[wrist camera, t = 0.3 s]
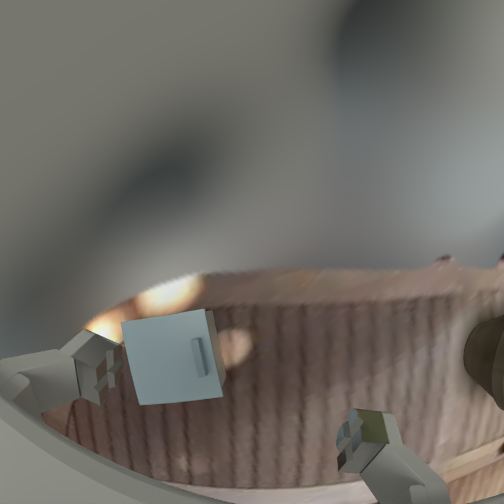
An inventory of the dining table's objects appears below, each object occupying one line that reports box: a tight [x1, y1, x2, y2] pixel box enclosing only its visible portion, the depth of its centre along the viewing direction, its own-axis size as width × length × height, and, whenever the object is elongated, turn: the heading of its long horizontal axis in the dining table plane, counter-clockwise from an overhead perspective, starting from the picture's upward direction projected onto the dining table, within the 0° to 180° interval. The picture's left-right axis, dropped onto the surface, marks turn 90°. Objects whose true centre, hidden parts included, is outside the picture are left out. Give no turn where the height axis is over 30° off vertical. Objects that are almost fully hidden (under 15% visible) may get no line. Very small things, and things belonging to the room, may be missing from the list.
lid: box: [121, 309, 223, 405], centre depth 47 cm, size 15×15×5 cm
